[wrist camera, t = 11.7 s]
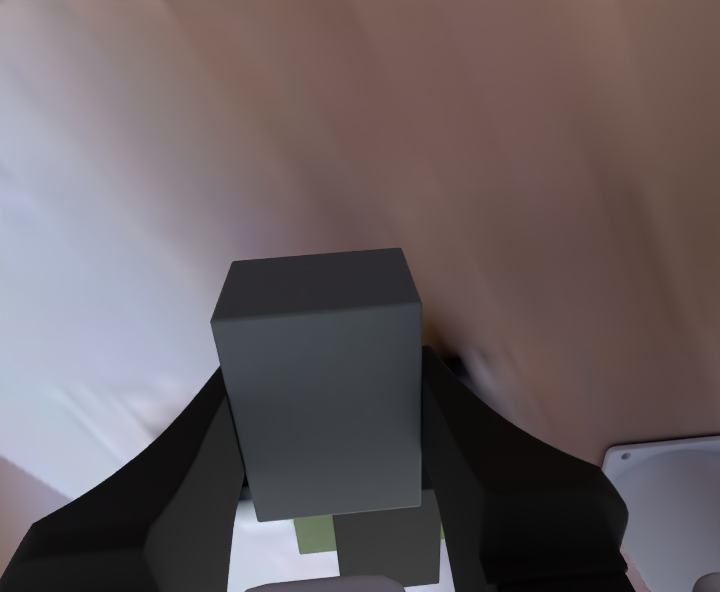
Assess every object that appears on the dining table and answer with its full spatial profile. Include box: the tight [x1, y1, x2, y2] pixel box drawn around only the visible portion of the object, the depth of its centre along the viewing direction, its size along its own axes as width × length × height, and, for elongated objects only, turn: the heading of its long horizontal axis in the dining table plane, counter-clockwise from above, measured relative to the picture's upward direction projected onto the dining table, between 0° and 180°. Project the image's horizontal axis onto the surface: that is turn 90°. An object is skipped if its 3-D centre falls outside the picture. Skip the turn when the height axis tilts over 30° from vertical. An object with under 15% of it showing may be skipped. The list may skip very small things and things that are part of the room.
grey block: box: [210, 248, 422, 522], centre depth 15 cm, size 5×7×3 cm
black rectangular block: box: [332, 451, 441, 587], centre depth 25 cm, size 5×7×3 cm
